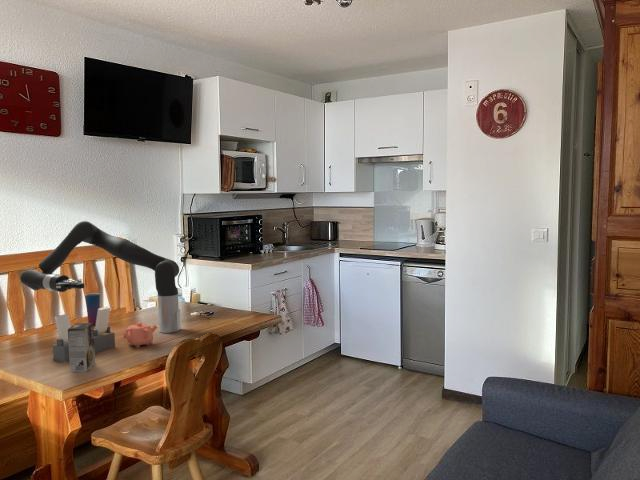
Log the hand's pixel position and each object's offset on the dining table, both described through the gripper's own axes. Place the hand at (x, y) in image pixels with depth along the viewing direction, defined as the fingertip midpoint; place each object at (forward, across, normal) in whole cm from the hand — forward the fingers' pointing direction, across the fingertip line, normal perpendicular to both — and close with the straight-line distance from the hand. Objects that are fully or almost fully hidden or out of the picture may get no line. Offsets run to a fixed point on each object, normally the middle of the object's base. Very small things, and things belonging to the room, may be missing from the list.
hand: (82, 286), depth 230 cm
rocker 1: (+10, -17, +18) cm, 27 cm away
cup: (-29, +27, +27) cm, 48 cm away
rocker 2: (+10, -1, +18) cm, 21 cm away
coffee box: (+26, -23, +25) cm, 43 cm away
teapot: (+23, +10, +26) cm, 36 cm away
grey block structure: (+10, -9, +25) cm, 29 cm away
